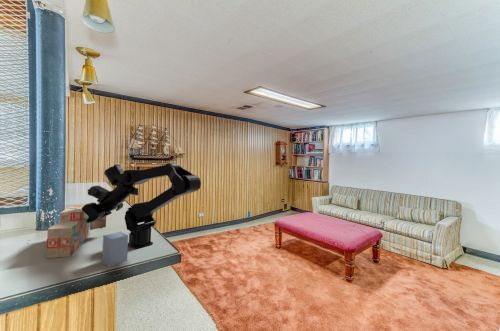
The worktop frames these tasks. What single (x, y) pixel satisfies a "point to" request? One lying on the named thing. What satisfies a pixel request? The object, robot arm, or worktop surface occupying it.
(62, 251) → the stack of blocks
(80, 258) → the worktop surface
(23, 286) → the worktop surface
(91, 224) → the walnut block
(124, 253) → the slate-blue block
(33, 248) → the worktop surface
